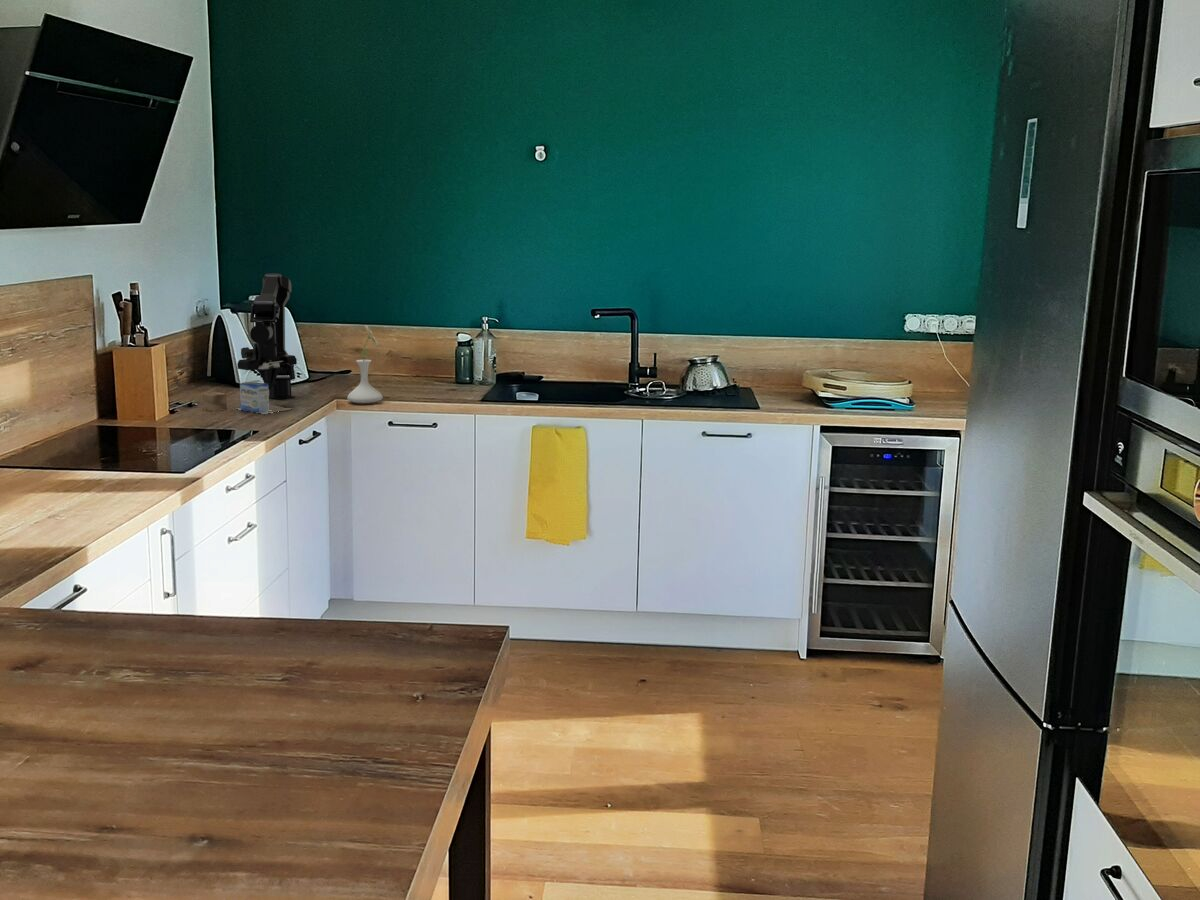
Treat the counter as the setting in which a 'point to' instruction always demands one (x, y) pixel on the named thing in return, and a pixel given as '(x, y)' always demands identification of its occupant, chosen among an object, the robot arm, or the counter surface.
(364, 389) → the flower in vase
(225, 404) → the walnut block
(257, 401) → the medicine box
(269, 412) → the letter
